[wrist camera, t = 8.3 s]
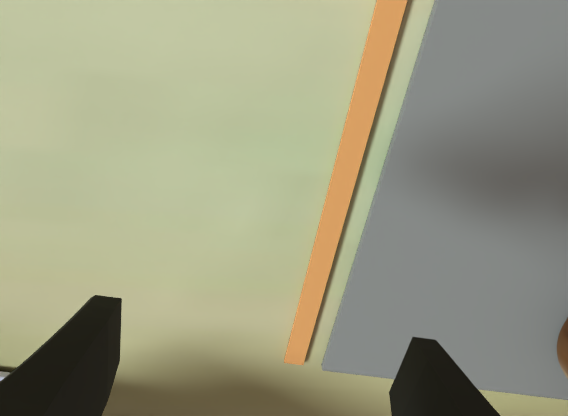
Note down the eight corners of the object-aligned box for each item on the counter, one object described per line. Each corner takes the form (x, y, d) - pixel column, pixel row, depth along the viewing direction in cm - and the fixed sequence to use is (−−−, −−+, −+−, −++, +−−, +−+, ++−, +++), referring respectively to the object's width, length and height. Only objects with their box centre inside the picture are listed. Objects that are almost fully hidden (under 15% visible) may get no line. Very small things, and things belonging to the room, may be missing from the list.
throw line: (303, 362, 25) (303, 365, 25) (284, 359, 25) (284, 362, 25) (426, -72, 16) (427, -72, 16) (397, -79, 16) (398, -79, 15)
